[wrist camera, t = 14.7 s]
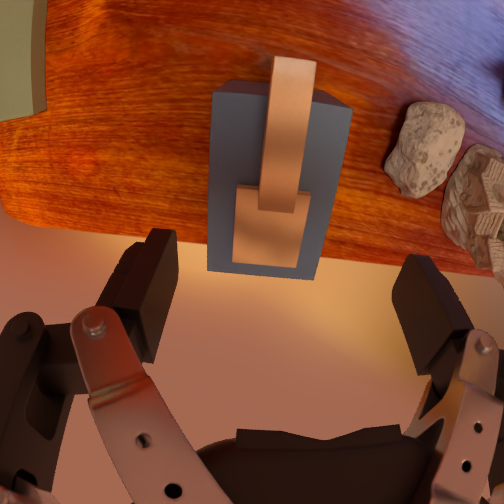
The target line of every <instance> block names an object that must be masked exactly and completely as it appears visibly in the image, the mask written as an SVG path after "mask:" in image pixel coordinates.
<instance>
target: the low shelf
mask: <svg viewBox="0 0 504 504" xmlns="http://www.w3.org/2000/svg"><path fill="white" fill-rule="evenodd" d="M47 3H48V0H0V121H5V120H10V119H15V118H20V117H25V116H31V115H35V114H37V113H39V112H42V111H44V110H46V109H47V106H46V89H45V30H46V15H47Z"/></svg>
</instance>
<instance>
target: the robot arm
mask: <svg viewBox="0 0 504 504" xmlns="http://www.w3.org/2000/svg"><path fill="white" fill-rule="evenodd" d="M177 253H178V252H177V236H176V231H175V230H171V229H159V228H152V230H151V231H150V233H149V235H148V237H147V238H146V240H145V243H144V242H136V243H134V244H133V245H132V246H130V247H129V248H128V249H126V250H125V252H124V254H123V255H122V257H121V259H120V260H119V264H117V266H116V267H115V269H114V273H112V275H111V276H110V278H109V280H108V282H107V284H106V286H105V288H104V290H103V291H102V293H101V295H100V297H99V299H98V301H97V303H96V305H95V306H92V307H89V308H86V309H84V310H83V311H81V312H79V313H78V314H77V315H76V316H75V318H74V319H73V320H72V322H71V323H65V324H54V325H45V324H44V322H43V320H42V318H41V317H40V316H39V315H38V314H36V313H33V312H23V313H20V314H17V315H16V316H14V317H13V318H11V319H10V320H9V321H8V322H7V324H6V325H5V327H4V329H3V331H2V333H1V335H0V504H59V502H58V500H57V499H56V498H55V497H54V496H53V495H52V494H51V491H52V485H53V480H54V474H55V469H56V465H57V460H58V456H59V451H60V446H61V443H62V439H63V435H64V431H65V427H66V423H67V419H68V415H69V412H70V409H71V405H72V402H73V398H74V395H75V394H89V397H90V398H88V405H89V408H90V411H91V414H92V416H93V419H94V421H95V424H96V426H97V429H98V431H99V433H100V436H101V438H102V440H103V443H104V445H105V447H106V449H107V451H108V454H109V456H110V458H111V460H112V462H113V464H114V466H115V468H116V470H117V472H118V474H119V476H120V478H121V480H122V482H123V484H124V486H125V488H126V489H127V491H128V493H129V495H130V497H131V498H132V500H133V503H132V504H504V350H501V349H499V348H498V345H497V343H496V341H495V340H494V339H493V337H492V336H491V335H489V334H488V333H487V332H485V331H483V330H481V329H475V328H474V326H473V324H472V323H471V320H470V318H469V317H468V315H467V313H466V311H465V309H464V307H463V305H462V304H461V302H460V301H459V298H458V296H457V295H456V293H455V292H454V289H453V288H452V286H451V284H450V282H449V281H448V280H447V278H446V277H445V276H443V274H441V273H440V272H439V271H438V269H437V267H436V266H435V264H434V263H433V261H432V259H431V258H430V257H429V256H425V255H417V254H409V255H408V256H407V258H406V260H405V262H404V264H403V266H402V269H401V271H400V273H399V275H398V277H397V280H396V282H395V284H394V286H393V289H392V302H393V306H394V308H395V311H396V313H397V316H398V319H399V321H400V324H401V327H402V330H403V333H404V335H405V338H406V341H407V344H408V347H409V350H410V353H411V356H412V359H413V362H414V365H415V368H416V371H417V374H418V376H419V375H429V374H431V377H432V379H431V380H430V381H429V382H428V383H427V385H426V388H425V391H424V393H423V396H422V398H421V401H420V403H419V406H418V408H417V410H416V413H415V415H414V417H413V420H412V422H411V424H410V426H409V427H408V429H407V430H406V431H405V432H404V434H403V435H402V434H401V430H400V425H399V424H397V425H389V426H380V427H371V428H364V429H361V430H358V431H355V432H352V433H349V434H346V435H343V436H340V437H337V438H334V439H330V440H318V439H314V438H309V437H304V436H300V435H296V434H292V433H288V432H284V431H269V430H268V431H267V430H249V429H237V432H236V438H232V439H226V440H222V441H218V442H215V443H213V444H210V445H207V446H205V447H203V448H201V449H199V450H197V451H195V450H194V449H193V447H192V446H191V444H190V443H189V441H188V440H187V438H186V437H185V435H184V433H183V432H182V430H181V429H180V427H179V425H178V424H177V422H176V420H175V419H174V417H173V416H172V414H171V412H170V411H169V409H168V407H167V405H166V404H165V402H164V400H163V398H162V397H161V395H160V393H159V391H158V390H157V388H156V386H155V384H154V382H153V381H152V379H151V378H150V376H148V375H147V374H146V372H145V370H144V368H143V366H142V362H146V363H152V364H153V363H154V360H155V356H156V353H157V349H158V346H159V342H160V339H161V335H162V332H163V328H164V325H165V322H166V318H167V315H168V312H169V308H170V305H171V302H172V298H173V295H174V292H175V289H176V286H177V281H178V272H179V271H178V270H179V268H178V254H177ZM487 477H488V481H489V488H490V496H491V498H489V499H486V500H485V499H484V498H483V497H482V492H483V489H484V487H485V484H486V480H487Z"/></svg>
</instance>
